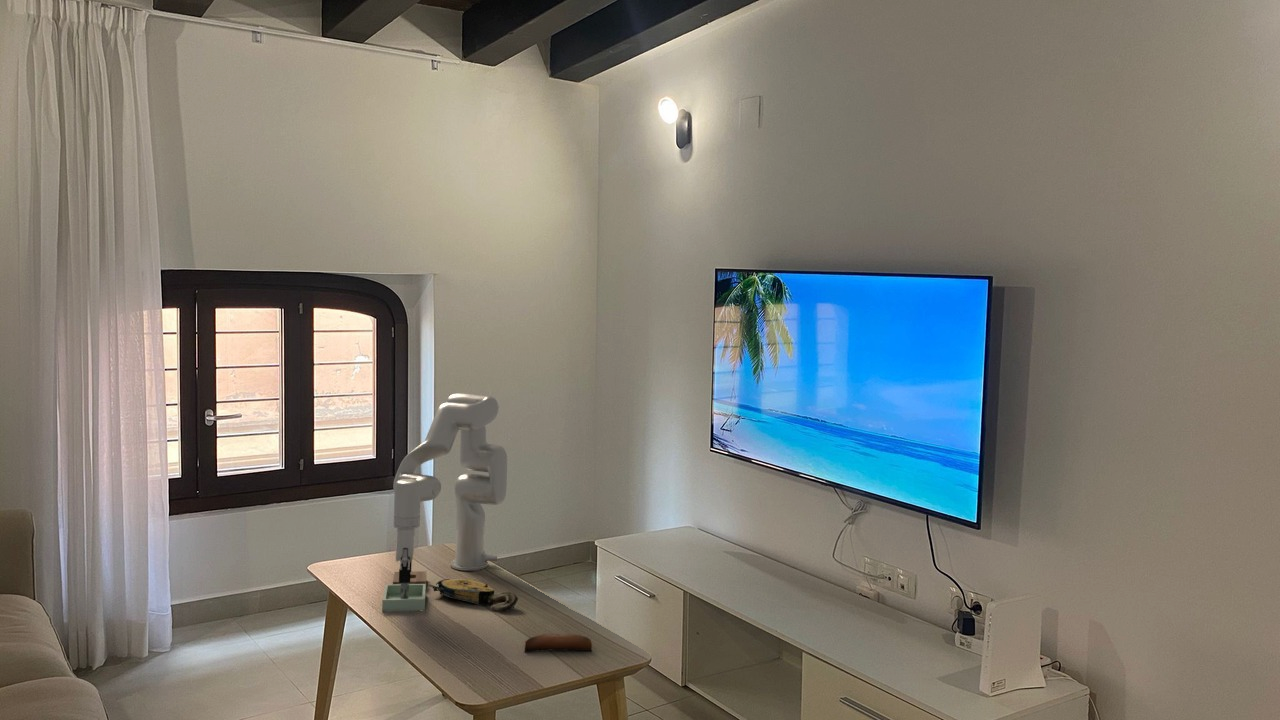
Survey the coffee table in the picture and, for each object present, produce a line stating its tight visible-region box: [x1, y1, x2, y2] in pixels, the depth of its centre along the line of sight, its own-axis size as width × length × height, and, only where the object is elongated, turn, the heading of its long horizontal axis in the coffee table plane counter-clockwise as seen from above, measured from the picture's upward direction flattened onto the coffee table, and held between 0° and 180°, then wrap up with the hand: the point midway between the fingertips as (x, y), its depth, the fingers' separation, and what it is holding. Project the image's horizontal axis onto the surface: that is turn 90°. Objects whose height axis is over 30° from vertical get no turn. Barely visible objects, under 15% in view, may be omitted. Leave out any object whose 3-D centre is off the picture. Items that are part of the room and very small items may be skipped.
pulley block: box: [428, 578, 519, 612], centre depth 290 cm, size 14×6×30 cm
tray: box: [381, 583, 427, 613], centre depth 285 cm, size 12×14×4 cm
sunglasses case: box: [524, 633, 593, 653], centre depth 257 cm, size 18×7×7 cm
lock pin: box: [400, 583, 409, 599], centre depth 284 cm, size 2×2×8 cm
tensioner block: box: [392, 570, 427, 585], centre depth 300 cm, size 10×10×3 cm
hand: (405, 577), depth 284 cm, fingers open, 9 cm apart
